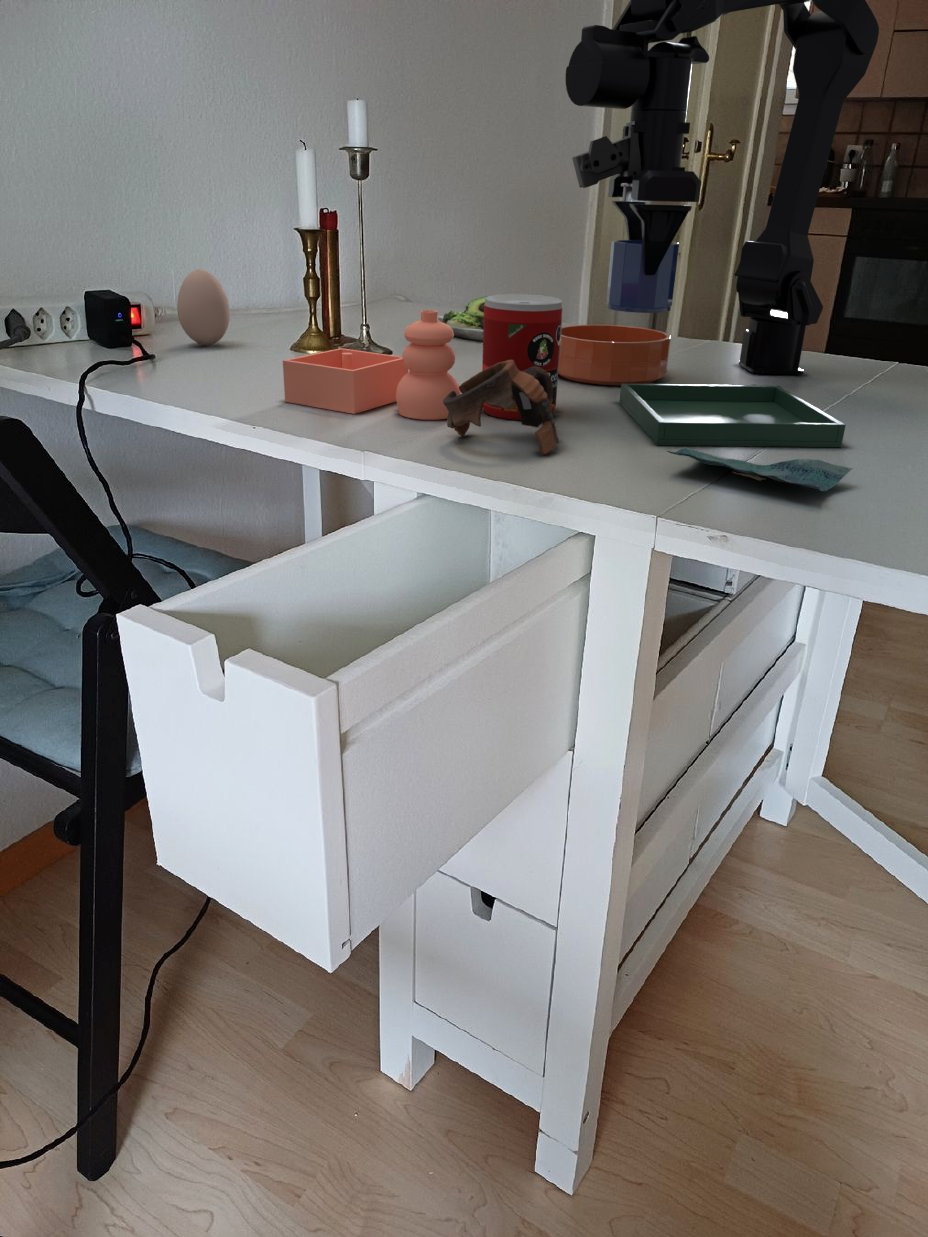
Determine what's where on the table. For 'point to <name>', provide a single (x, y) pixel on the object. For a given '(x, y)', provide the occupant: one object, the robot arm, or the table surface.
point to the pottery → (379, 375)
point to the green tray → (728, 416)
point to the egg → (203, 307)
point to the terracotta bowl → (613, 354)
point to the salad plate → (467, 320)
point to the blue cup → (639, 279)
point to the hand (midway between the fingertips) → (642, 271)
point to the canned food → (522, 338)
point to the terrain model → (779, 470)
